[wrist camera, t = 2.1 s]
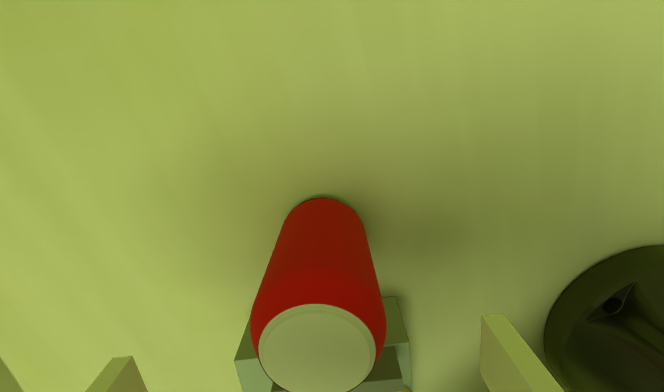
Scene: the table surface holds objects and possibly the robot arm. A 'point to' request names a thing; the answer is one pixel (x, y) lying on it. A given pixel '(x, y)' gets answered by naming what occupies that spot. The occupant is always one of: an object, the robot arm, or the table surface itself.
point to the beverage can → (319, 302)
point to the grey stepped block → (378, 388)
